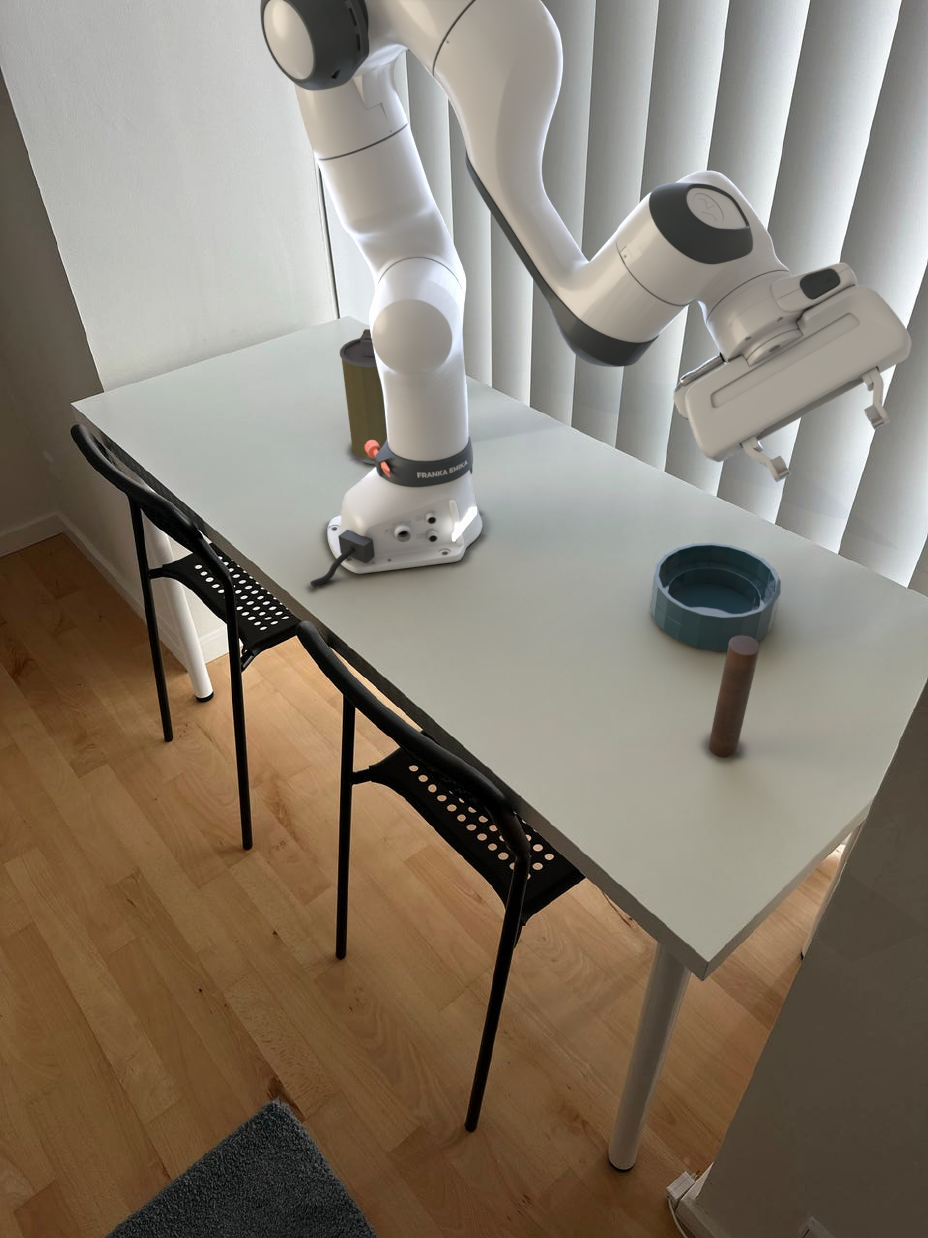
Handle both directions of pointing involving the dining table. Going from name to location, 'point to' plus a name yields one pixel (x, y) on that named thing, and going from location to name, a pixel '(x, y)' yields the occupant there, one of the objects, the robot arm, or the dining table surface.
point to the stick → (733, 695)
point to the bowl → (714, 595)
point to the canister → (363, 396)
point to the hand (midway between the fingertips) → (831, 451)
